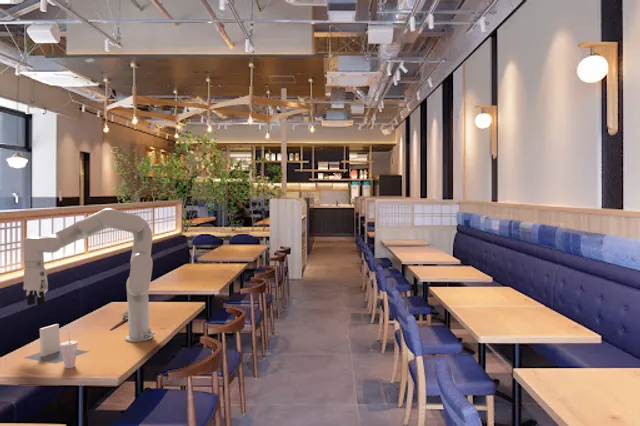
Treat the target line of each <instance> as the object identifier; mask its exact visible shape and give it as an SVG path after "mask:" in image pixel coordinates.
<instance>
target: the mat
mask: <svg viewBox="0 0 640 426" xmlns="http://www.w3.org/2000/svg"><path fill="white" fill-rule="evenodd" d="M88 352H89V351H87V350H83V349H82V350H81V349H76V357H78V356H80V355H83V354H86V353H88ZM24 359H28V360H35V361H40V362H46V363H52V364H59V363H61V362H64V361H63V356H62V350H61V347H60V351H58V352H55V353H53V354H50V355H47V356H44V357H43V356H41V351H40V352H38V353H33V354H31V355H28V356H26V357H25V356H24Z"/></svg>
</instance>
